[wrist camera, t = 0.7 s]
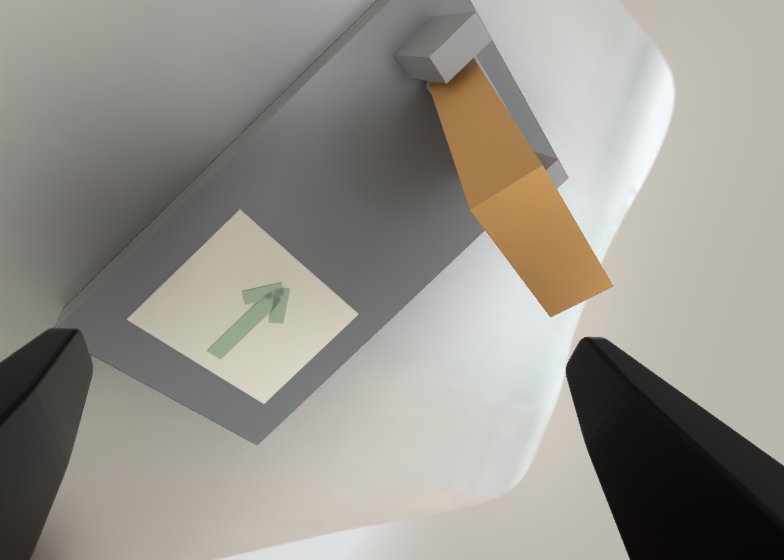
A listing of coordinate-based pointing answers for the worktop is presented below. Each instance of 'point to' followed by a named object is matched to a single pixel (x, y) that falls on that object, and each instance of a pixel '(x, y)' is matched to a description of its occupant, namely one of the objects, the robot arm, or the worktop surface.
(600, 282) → the orange lever
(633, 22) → the worktop surface
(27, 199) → the worktop surface
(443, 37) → the switch panel
